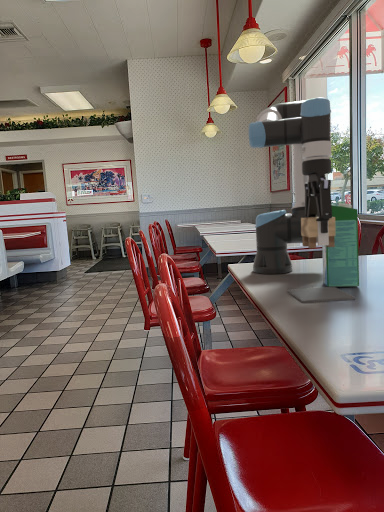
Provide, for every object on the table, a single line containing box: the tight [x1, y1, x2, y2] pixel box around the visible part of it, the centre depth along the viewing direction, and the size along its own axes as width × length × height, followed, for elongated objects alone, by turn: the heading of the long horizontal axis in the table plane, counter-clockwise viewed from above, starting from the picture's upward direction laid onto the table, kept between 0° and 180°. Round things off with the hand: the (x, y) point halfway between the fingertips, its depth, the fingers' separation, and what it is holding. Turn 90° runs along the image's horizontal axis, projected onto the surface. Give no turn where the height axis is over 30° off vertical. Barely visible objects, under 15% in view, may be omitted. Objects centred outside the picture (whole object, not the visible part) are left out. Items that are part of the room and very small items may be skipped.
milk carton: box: [321, 202, 360, 288], centre depth 118 cm, size 9×9×25 cm
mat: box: [287, 286, 356, 304], centre depth 108 cm, size 14×14×1 cm
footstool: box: [301, 217, 335, 249], centre depth 106 cm, size 7×7×8 cm
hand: (318, 243), depth 106 cm, fingers closed on footstool, 7 cm apart
